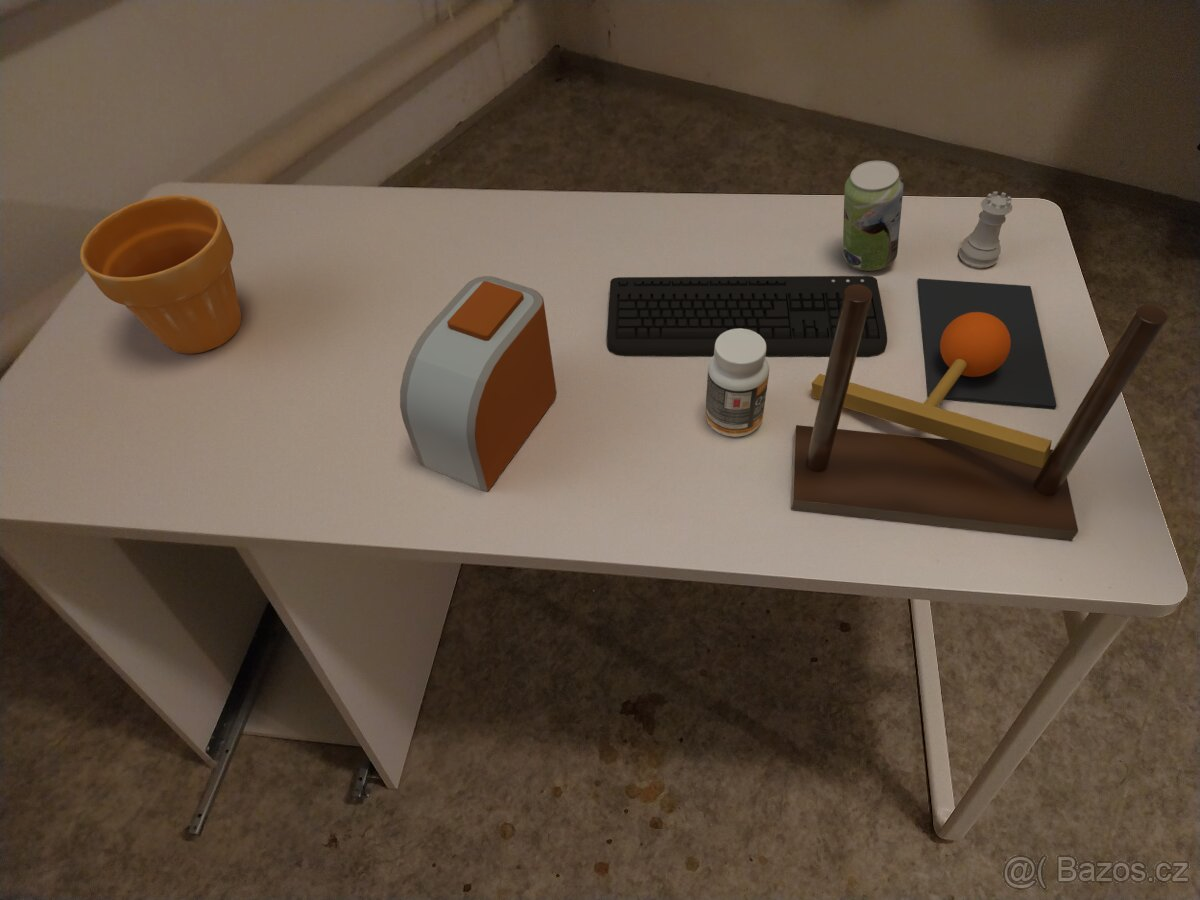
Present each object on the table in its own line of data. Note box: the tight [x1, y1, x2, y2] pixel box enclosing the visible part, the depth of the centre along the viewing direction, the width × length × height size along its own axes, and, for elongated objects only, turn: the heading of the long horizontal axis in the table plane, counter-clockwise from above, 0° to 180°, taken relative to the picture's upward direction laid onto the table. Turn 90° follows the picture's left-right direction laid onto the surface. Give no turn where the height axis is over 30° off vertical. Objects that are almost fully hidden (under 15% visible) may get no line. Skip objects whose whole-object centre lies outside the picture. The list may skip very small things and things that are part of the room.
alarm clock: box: [399, 275, 558, 493], centre depth 79 cm, size 15×8×14 cm, turn 152°
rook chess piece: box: [958, 191, 1013, 269], centre depth 93 cm, size 4×4×8 cm
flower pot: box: [79, 194, 242, 355], centre depth 91 cm, size 14×14×13 cm
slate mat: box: [916, 277, 1058, 410], centre depth 88 cm, size 18×12×1 cm, turn 170°
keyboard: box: [606, 275, 888, 358], centre depth 91 cm, size 30×11×2 cm, turn 87°
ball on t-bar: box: [811, 312, 1053, 468], centre depth 81 cm, size 6×22×16 cm
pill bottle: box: [705, 328, 770, 438], centre depth 79 cm, size 6×6×10 cm
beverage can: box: [842, 159, 905, 272], centre depth 92 cm, size 6×7×12 cm
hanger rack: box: [790, 284, 1169, 542], centre depth 68 cm, size 9×24×22 cm, turn 80°
